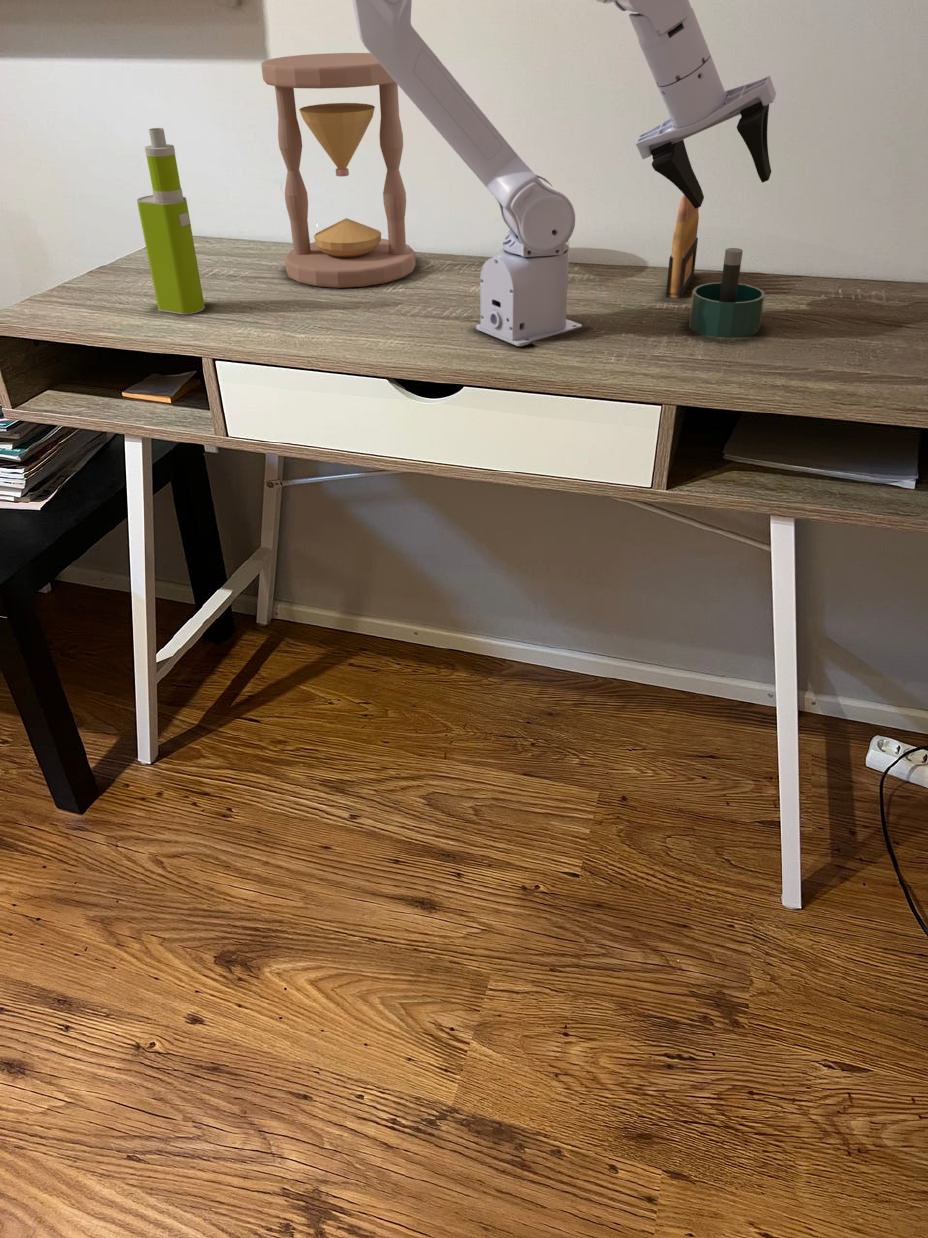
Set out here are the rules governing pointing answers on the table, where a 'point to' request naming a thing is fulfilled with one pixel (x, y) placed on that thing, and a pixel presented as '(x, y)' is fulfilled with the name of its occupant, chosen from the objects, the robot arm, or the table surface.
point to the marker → (730, 274)
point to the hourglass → (340, 170)
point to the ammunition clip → (683, 249)
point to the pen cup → (726, 311)
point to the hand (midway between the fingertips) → (732, 190)
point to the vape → (169, 233)
